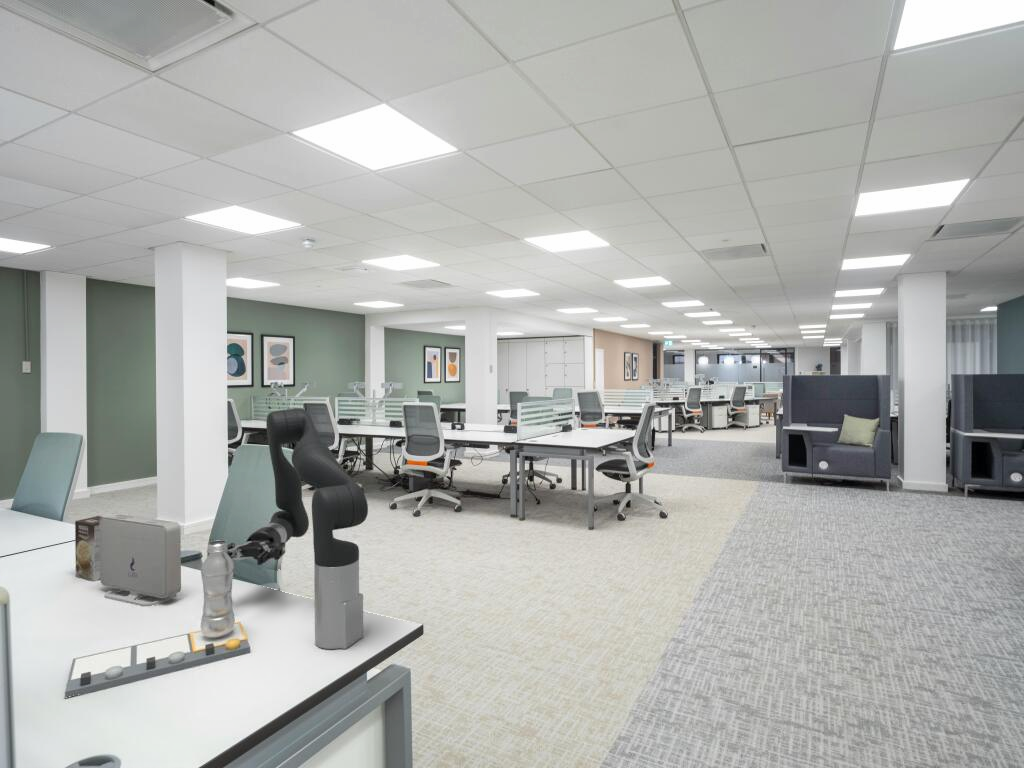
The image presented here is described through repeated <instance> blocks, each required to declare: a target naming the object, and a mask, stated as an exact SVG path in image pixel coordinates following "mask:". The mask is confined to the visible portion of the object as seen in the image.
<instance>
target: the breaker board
mask: <svg viewBox="0 0 1024 768" xmlns="http://www.w3.org/2000/svg"><path fill="white" fill-rule="evenodd" d="M250 653H251V646H250V643H249V641H248V637H247V634H246V631H245V629H244V627H243V624H242V622H241V621H235V623H234V628H233V629H232V631H231V632H230V633H229V634H228V635H226V636H223V637H219V638H206V637H205V636H204V635H203V634H202V631H201V629H200V630H195V631H192V632H191V631H190V632H188V633H184V634H179V635H176V636H171V637H170V636H169V637H166V638H162V639H157V640H152V641H147V642H143V643H139V644H135V645H130V646H126V647H120V648H115V649H112V650H111V649H110V650H107V651H103V652H98V653H94V654H89V655H86V656H85V655H84V656H80V657H76V658H72V662H71V666H70V670H69V675H68V678H67V683H66V687H65V691H64V698H65V697H69V696H73V695H78V694H82V695H85V694H84V693H86V694H89V693H88V692H90V693H93V692H92V691H94V692H98V691H102V690H106V689H109V688H113V687H118V686H122V685H125V684H131V683H135V682H137V681H142V680H147V679H150V678H153V677H154V678H155V677H158V676H163V675H166V674H170V672H171V673H174V672H173V671H175V672H178V671H177V670H179V671H181V669H183V670H185V669H184V668H187V669H189V667H191V668H193V667H192V666H195V667H197V666H196V665H199V666H201V665H200V664H203V665H206V664H205V663H207V664H209V663H208V662H211V663H213V661H215V662H219V661H222V659H223V660H227V659H230V658H234V657H238V656H243V655H246V654H250ZM218 660H219V661H218ZM78 696H79V695H78Z"/></svg>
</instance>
